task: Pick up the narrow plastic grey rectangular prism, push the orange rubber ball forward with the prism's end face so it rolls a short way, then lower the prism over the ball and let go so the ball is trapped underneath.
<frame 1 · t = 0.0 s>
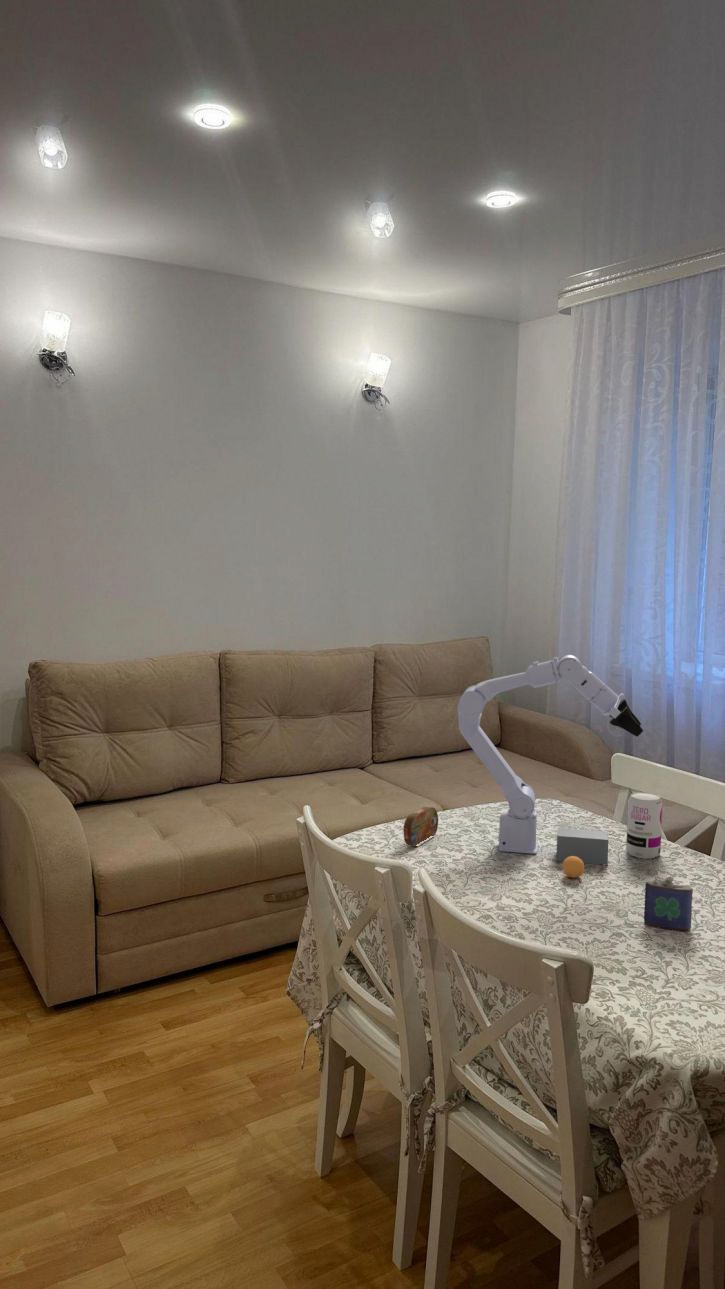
hand: (639, 730, 222), 32 cm above the table, tool tilted 50°, fingers open, 7 cm apart
flask: (666, 927, 187), on the table
ball: (573, 866, 213), on the table
supplement can: (643, 854, 229), on the table
tin: (420, 842, 238), on the table
grey rectangular prism: (581, 858, 225), on the table
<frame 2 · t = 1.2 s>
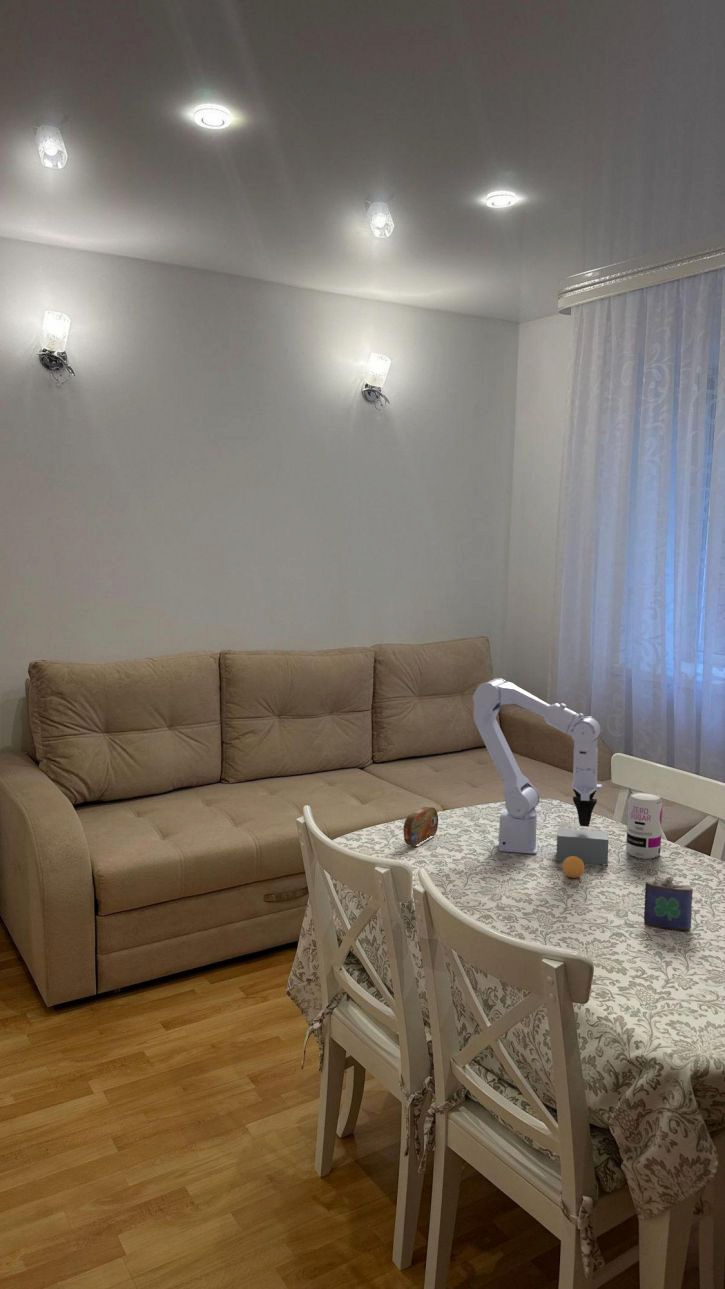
hand: (584, 821, 224), 10 cm above the table, tool pointing down, fingers open, 7 cm apart
nothing on the table moved.
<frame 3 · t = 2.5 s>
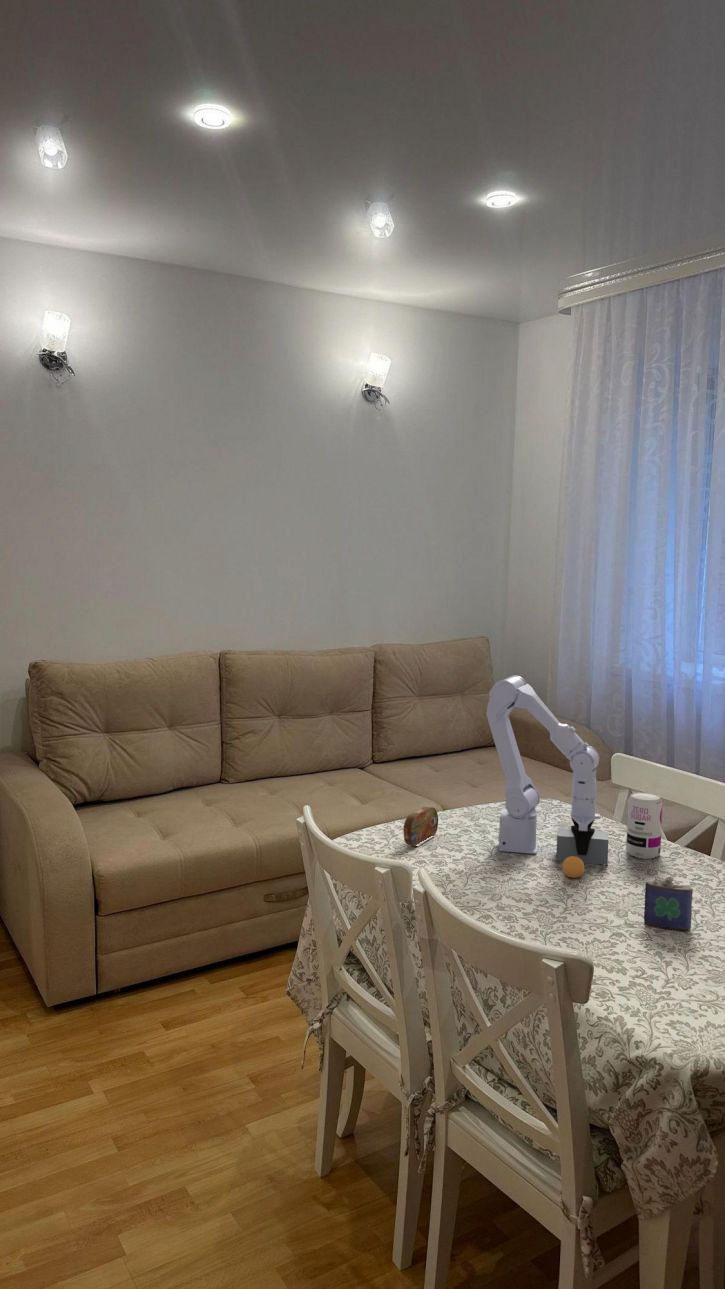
hand: (582, 850, 225), 2 cm above the table, tool pointing down, fingers closed on grey rectangular prism, 6 cm apart
grey rectangular prism: (581, 858, 225), on the table, touching gripper
everything else where it was.
when the fingers open (3 cm above the table, at t = 13.3 s): grey rectangular prism stays where it is, on the table.
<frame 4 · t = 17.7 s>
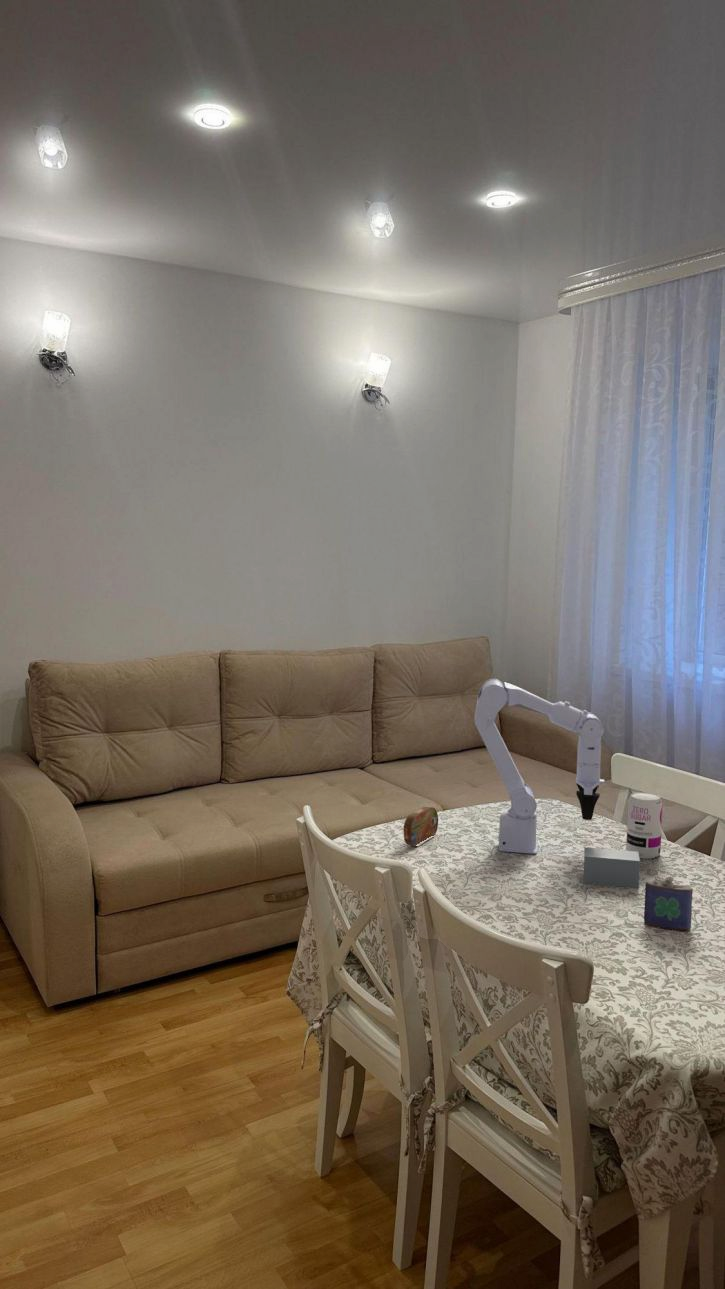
hand: (587, 814, 230), 9 cm above the table, tool pointing down, fingers open, 7 cm apart
ball: (609, 870, 211), on the table
grey rectangular prism: (610, 880, 211), on the table
everything else where it was.
at the end: ball 0.3 cm off-centre on the grey rectangular prism, point 2.5 cm above the grey rectangular prism's base; grey rectangular prism on the table; ball moved 8.2 cm from its start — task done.
